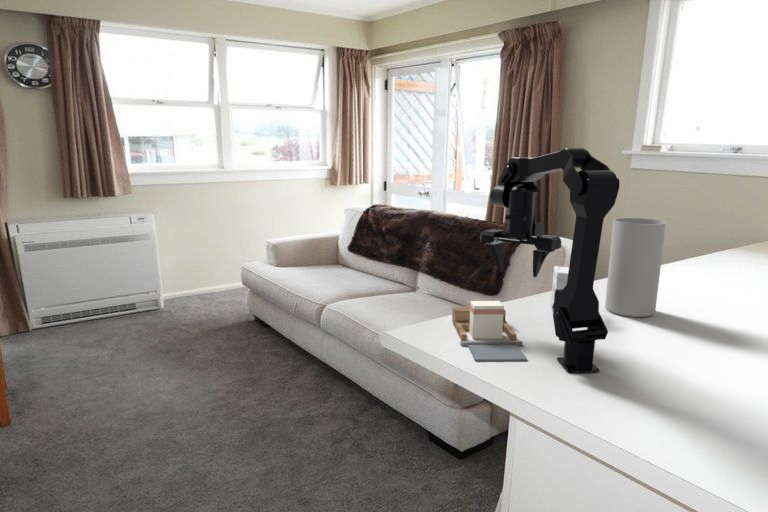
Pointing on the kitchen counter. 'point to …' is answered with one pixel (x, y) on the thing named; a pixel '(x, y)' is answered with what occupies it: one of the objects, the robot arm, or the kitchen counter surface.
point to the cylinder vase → (634, 266)
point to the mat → (496, 353)
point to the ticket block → (486, 319)
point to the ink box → (559, 280)
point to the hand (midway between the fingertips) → (517, 274)
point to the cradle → (463, 322)
